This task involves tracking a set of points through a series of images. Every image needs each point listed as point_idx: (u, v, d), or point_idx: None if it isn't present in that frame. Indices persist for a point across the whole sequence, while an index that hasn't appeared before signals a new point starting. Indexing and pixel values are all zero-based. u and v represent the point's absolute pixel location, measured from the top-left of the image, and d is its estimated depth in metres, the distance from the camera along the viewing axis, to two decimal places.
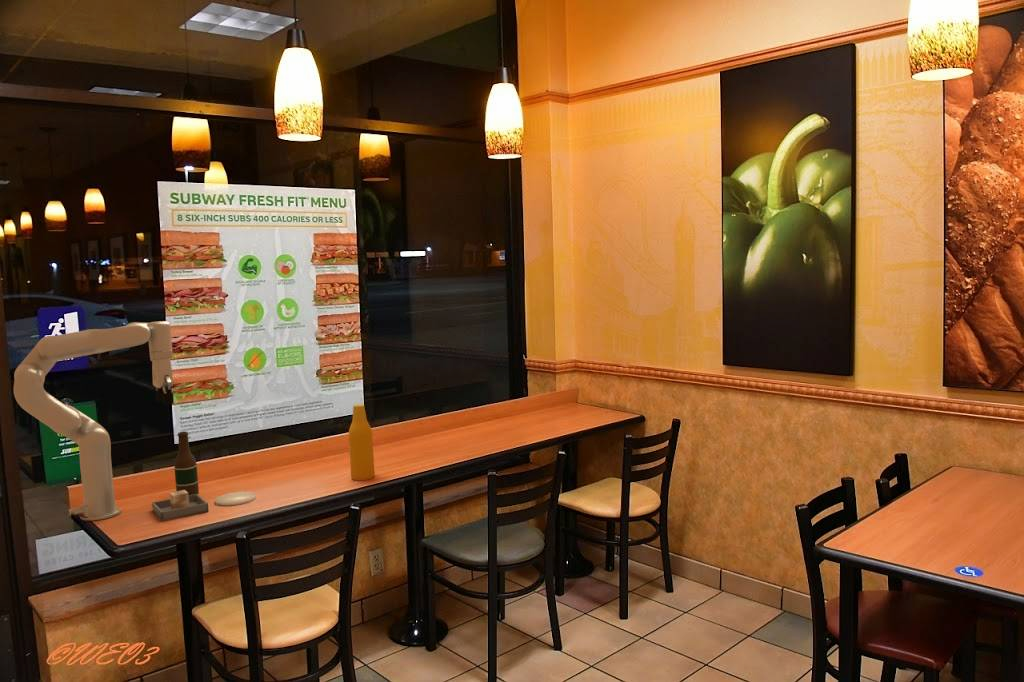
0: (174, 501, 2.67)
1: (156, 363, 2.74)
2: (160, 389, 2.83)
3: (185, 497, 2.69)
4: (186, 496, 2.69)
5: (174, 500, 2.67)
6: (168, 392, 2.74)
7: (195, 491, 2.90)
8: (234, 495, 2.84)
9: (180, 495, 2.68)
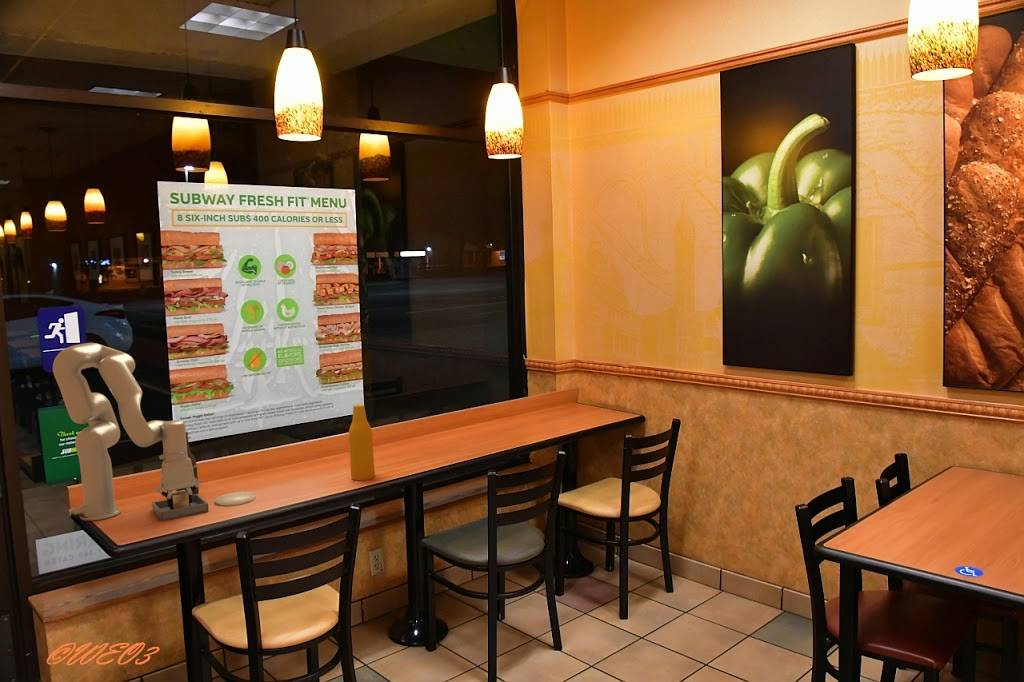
0: (174, 501, 2.67)
1: (187, 463, 2.69)
2: None
3: (185, 497, 2.69)
4: (186, 496, 2.69)
5: (174, 500, 2.67)
6: None
7: (195, 491, 2.90)
8: (234, 495, 2.84)
9: (180, 495, 2.68)
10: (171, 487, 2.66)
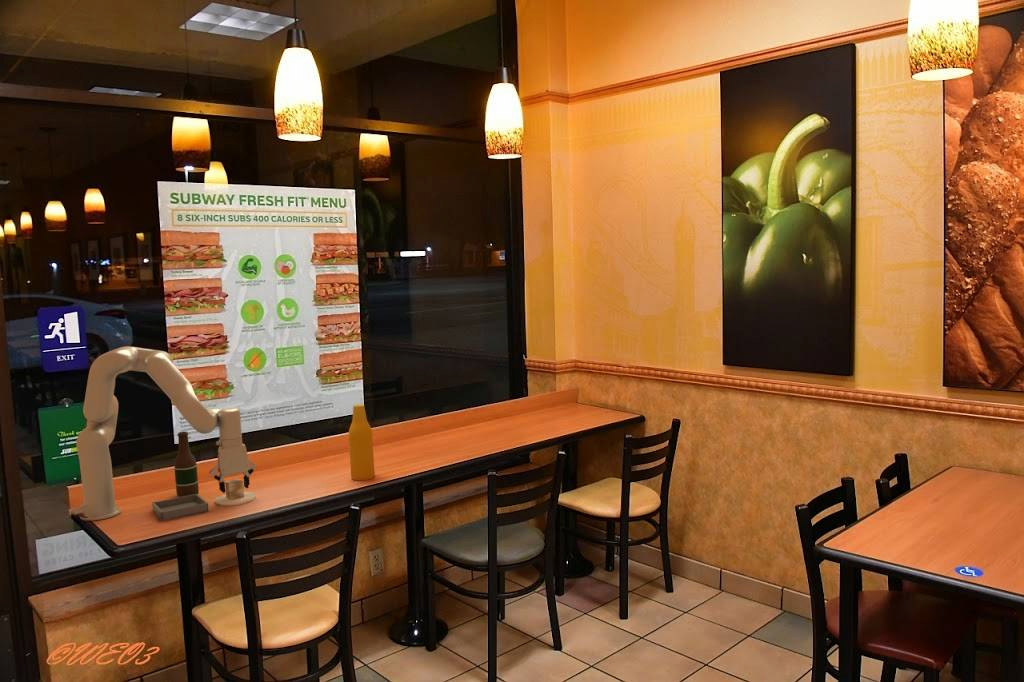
0: (230, 489, 2.78)
1: (242, 448, 2.79)
2: None
3: (240, 485, 2.80)
4: (241, 485, 2.80)
5: (230, 488, 2.78)
6: None
7: (195, 491, 2.90)
8: None
9: (235, 483, 2.79)
10: (227, 472, 2.77)
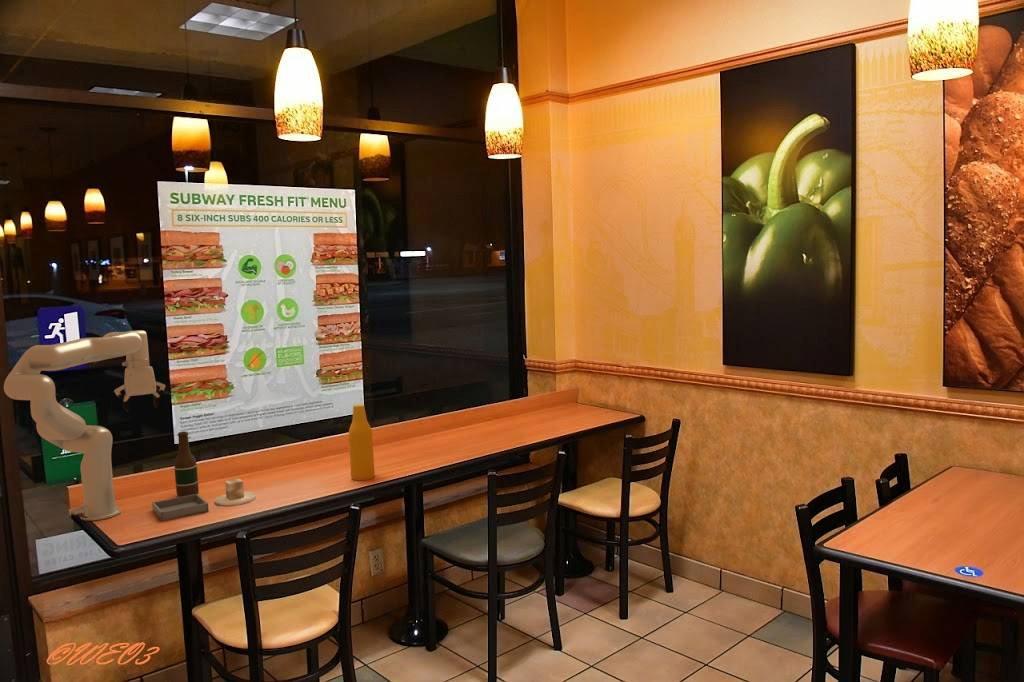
0: (230, 489, 2.78)
1: (149, 370, 2.85)
2: None
3: (240, 485, 2.80)
4: (241, 485, 2.80)
5: (230, 488, 2.78)
6: None
7: (195, 491, 2.90)
8: None
9: (235, 483, 2.79)
10: (133, 392, 2.82)
